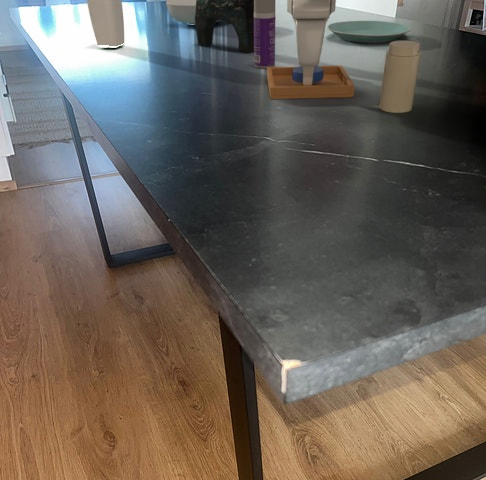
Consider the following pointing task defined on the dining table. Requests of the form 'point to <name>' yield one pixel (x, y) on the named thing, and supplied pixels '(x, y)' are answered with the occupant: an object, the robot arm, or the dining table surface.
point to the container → (264, 33)
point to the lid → (298, 74)
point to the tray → (329, 87)
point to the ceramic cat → (226, 20)
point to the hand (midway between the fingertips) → (307, 79)
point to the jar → (400, 76)
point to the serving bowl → (183, 10)
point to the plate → (368, 31)
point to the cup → (107, 21)
